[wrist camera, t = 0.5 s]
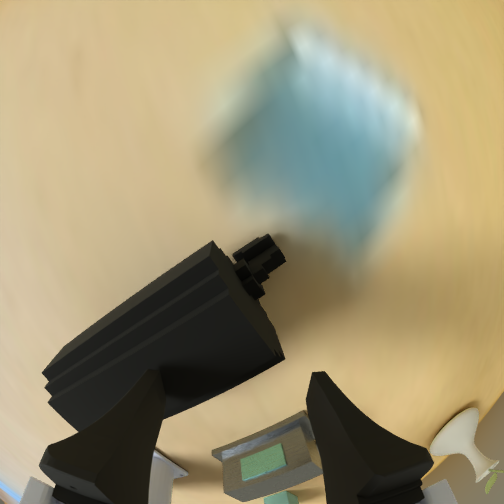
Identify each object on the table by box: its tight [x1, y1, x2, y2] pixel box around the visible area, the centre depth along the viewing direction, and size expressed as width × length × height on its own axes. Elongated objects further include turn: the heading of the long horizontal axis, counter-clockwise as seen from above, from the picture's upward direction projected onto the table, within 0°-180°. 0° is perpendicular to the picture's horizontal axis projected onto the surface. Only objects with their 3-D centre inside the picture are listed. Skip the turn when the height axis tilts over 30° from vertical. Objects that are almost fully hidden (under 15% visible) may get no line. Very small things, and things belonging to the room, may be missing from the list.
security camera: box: [42, 234, 286, 432], centre depth 17 cm, size 7×18×10 cm, turn 123°
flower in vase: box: [430, 408, 504, 494], centre depth 20 cm, size 13×11×25 cm
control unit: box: [212, 411, 323, 502], centre depth 24 cm, size 12×5×6 cm, turn 123°
